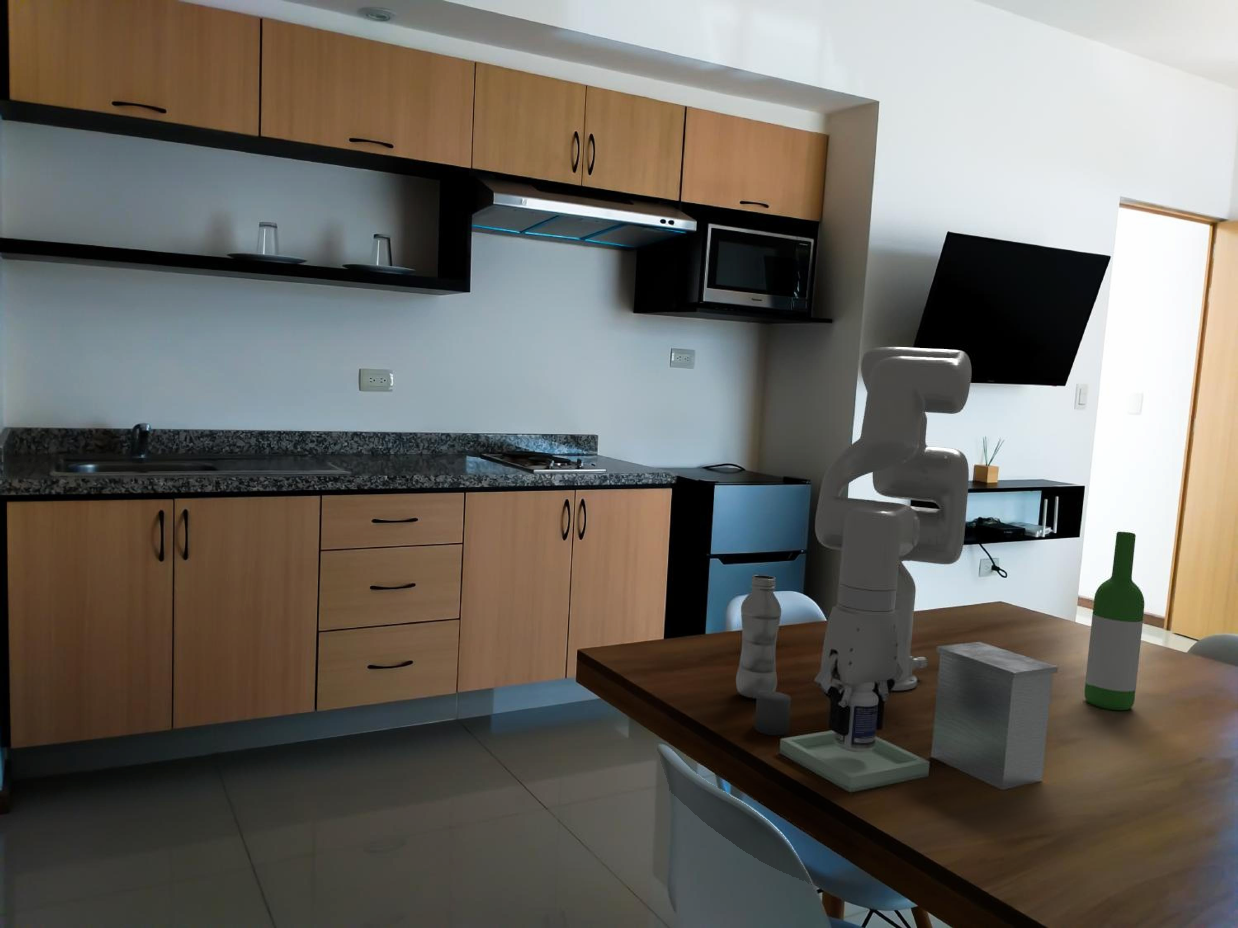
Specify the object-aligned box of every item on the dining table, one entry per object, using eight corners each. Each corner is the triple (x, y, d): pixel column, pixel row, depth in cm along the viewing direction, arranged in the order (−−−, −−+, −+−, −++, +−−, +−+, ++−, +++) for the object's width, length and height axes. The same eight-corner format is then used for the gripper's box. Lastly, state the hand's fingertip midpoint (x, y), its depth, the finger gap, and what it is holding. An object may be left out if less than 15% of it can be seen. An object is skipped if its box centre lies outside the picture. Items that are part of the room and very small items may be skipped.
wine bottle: (1114, 714, 161) (1133, 536, 158) (1073, 699, 167) (1090, 529, 165) (1143, 709, 164) (1162, 536, 162) (1102, 695, 171) (1119, 528, 169)
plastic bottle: (775, 705, 154) (784, 582, 152) (732, 700, 155) (741, 578, 154) (776, 693, 160) (785, 575, 159) (736, 688, 161) (744, 571, 160)
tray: (854, 739, 141) (855, 726, 140) (928, 776, 128) (929, 761, 128) (779, 752, 134) (780, 738, 133) (850, 792, 121) (851, 776, 121)
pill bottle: (879, 745, 132) (885, 675, 131) (867, 756, 127) (873, 684, 126) (841, 735, 135) (847, 667, 134) (828, 746, 130) (834, 676, 129)
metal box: (969, 747, 140) (979, 641, 139) (1046, 781, 129) (1058, 666, 128) (926, 755, 136) (936, 646, 135) (1002, 791, 125) (1014, 672, 124)
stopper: (773, 721, 146) (776, 689, 146) (795, 732, 142) (798, 699, 142) (747, 725, 144) (750, 693, 143) (768, 737, 140) (771, 703, 139)
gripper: (892, 589, 137) (881, 713, 138) (798, 595, 128) (788, 727, 130) (932, 601, 130) (921, 731, 132) (837, 608, 122) (826, 747, 123)
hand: (855, 728), depth 131 cm, fingers closed on pill bottle, 5 cm apart
